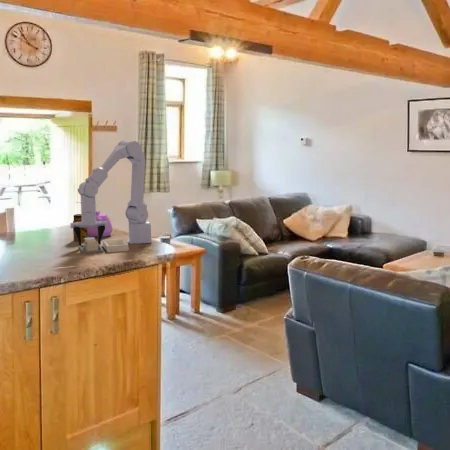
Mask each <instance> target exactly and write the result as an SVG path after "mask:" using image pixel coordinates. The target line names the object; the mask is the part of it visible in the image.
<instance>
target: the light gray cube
mask: <svg viewBox="0 0 450 450" xmlns="http://www.w3.org/2000/svg"><path fill="white" fill-rule="evenodd" d="M91 240H96V237H95V238H94V237H88V238H84V241H83V245H84V247H85V249H86V241H91Z"/></svg>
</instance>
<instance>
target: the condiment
mask: <svg viewBox="0 0 450 450" xmlns="http://www.w3.org/2000/svg"><path fill="white" fill-rule="evenodd" d="M76 222H82V217H81V213H77V214H73V221H72V223H76ZM72 230H73V231H72V235H73V242H77V243H79V242H78V238H77V235H76V233H75V231H74V229H73V228H72ZM80 230H81V243H82V242H83V243H84V238H89V237H88V233H87V227H82V228H80Z"/></svg>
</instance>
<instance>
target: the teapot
mask: <svg viewBox="0 0 450 450" xmlns="http://www.w3.org/2000/svg"><path fill="white" fill-rule="evenodd" d="M96 221H107V226H106V227H105V230H104V233H103V235H102V238H108V236H110V235H111V234H112V232H113V224H112V221H111V219H110V218H109V215H107V214H106V213H104V212H103V213H101V211H100V210H96ZM90 226H93V225H90ZM87 233H88V238H90V237H94V238H95V239H96V238H98V227H87Z"/></svg>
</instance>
